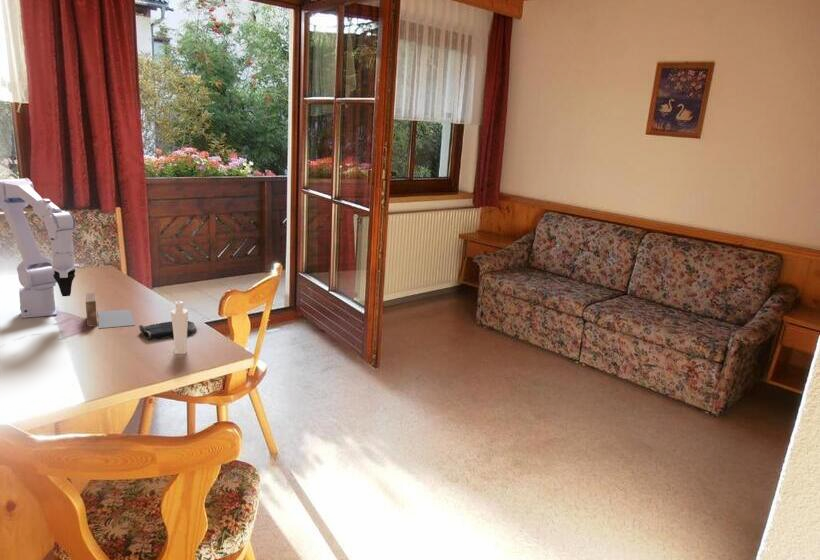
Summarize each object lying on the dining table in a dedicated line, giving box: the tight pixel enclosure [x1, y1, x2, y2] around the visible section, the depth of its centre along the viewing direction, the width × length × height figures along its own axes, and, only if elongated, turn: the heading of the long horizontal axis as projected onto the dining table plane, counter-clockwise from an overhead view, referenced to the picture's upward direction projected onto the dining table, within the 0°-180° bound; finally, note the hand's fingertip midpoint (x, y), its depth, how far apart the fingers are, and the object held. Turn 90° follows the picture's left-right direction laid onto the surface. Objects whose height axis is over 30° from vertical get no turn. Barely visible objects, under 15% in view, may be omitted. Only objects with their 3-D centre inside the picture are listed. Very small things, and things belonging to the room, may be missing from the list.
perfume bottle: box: [170, 300, 189, 355], centre depth 163 cm, size 5×4×15 cm
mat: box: [97, 308, 136, 330], centre depth 186 cm, size 10×16×1 cm, turn 29°
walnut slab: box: [85, 292, 98, 326], centre depth 181 cm, size 3×9×8 cm, turn 29°
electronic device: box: [138, 320, 197, 341], centre depth 177 cm, size 10×6×15 cm
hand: (66, 294), depth 177 cm, fingers open, 3 cm apart
